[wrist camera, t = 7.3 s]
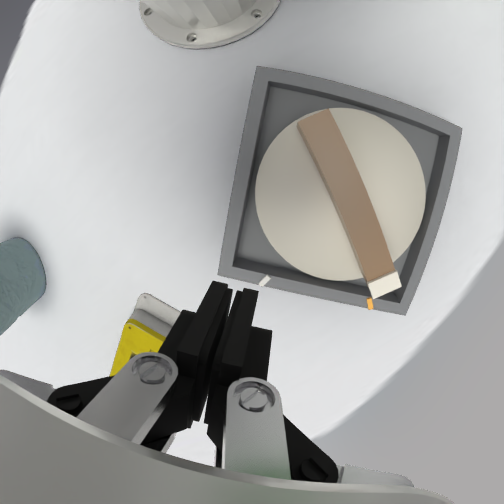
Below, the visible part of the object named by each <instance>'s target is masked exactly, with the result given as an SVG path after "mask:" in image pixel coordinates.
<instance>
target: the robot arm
mask: <svg viewBox="0 0 504 504" xmlns="http://www.w3.org/2000/svg"><path fill="white" fill-rule="evenodd" d="M279 3H280V0H140V14H141V18H142V20H143V22H144V24H145V25H146V27H147V28H148V29H149V30H150V31H151V32H152V33H153V34H154V35H155V36H157V37H158V38H160V39H161V40H163V41H165V42H167V43H169V44H171V45H175V46H178V47H182V48H193V49H201V48H212V47H216V46H221V45H225V44H228V43H231V42H234V41H237V40H239V39H241V38H243V37H245V36H247V35H249V34H251V33H252V32H254V31H255V30H256V29H258V28H259V27H260V26H262V25H263V24H264V23H265V22H266V21H267V20H268V19H269V18H270V17H271V16H272V15H273V13H274V11H275V10H276V8H277V7H278V5H279ZM258 15H259V16H260V17H259V18H255V16H258ZM194 38H196V40H195V41H193V42H192V40H193V39H194ZM232 292H233V289H229V288H228V284H225V283H221V282H216V281H212V283H211V285H210V287H209V289H208V291H207V293H206V295H205V297H204V299H203V300H202V302H201V304H200V306H199V308H198V310H197V312H196V313H195V312H191V311H187V310H182V312H181V313H180V315H179V316H178V318H177V320H176V321H175V323H174V325H173V327H172V328H171V330H170V332H169V333H168V335H167V337H166V339H165V340H164V342H163V344H162V345H161V347H160V349H159V351H158V352H144V353H140V354H138V355H135V356H134V357H133V358H131V359H130V360H129V361H128V362H127V363H126V364H125V365H124V367H123V368H122V369H121V370H120V371H119V372H118V373H117V374H116V375H114V376H109V377H105V378H101V379H96V380H92V381H87V382H82V383H77V384H72V385H67V386H63V387H60V388H58V389H54V388H53V385H51V384H47V383H44V382H41V381H37V380H34V379H31V378H28V377H25V376H22V375H19V374H16V373H13V372H10V371H7V370H0V504H454V503H453V502H452V501H451V500H449V499H448V498H447V497H445V496H443V495H440V494H438V493H435V492H431V491H428V490H424V489H419V488H415V487H414V485H413V484H412V482H411V481H410V480H409V479H408V478H406V477H405V476H402V475H398V474H392V473H386V472H380V471H375V470H370V469H365V468H361V467H356V466H351V465H348V464H345V465H344V466H339V465H336V464H335V463H334V461H333V460H332V459H331V458H330V457H329V456H328V455H326V454H325V453H324V452H323V451H322V450H321V449H320V448H319V447H317V446H316V445H315V444H314V443H313V442H312V441H311V440H310V439H309V438H308V437H306V436H305V435H304V434H303V433H302V432H301V431H300V430H299V429H298V428H297V427H296V426H295V425H294V424H293V423H291V422H290V421H289V420H288V419H287V418H286V417H285V416H284V415H283V410H282V403H281V397H280V394H279V392H278V390H277V389H276V388H275V387H274V386H273V385H272V384H270V383H269V382H267V374H268V365H269V357H270V348H271V339H272V330H267V329H262V328H258V327H253V326H251V325H252V321H253V316H254V311H255V307H256V302H257V297H258V292H259V291H256V290H251V289H247V288H244V289H243V292H242V291H238V290H237V292H236V295H235V298H234V301H233V304H232V307H231V310H230V313H229V308H230V303H231V297H232ZM228 314H229V316H228ZM207 396H208V398H207ZM206 399H207V405H206V412H205V418H204V423H206V424H208V430H207V435H208V436H209V438H210V439H211V440H212V441H213V443H214V444H215V445H216V447H215V456H214V467H213V466H208V465H204V464H200V463H196V462H193V461H189V460H185V459H182V458H178V457H175V456H172V455H169V454H166V452H167V450H168V449H169V447H170V445H171V444H172V442H173V440H174V439H175V436H176V432H179V431H182V430H185V429H187V428H191V425H192V422H193V420H194V421H198V422H199V420H200V418H201V414H202V411H203V408H204V405H205V402H206Z"/></svg>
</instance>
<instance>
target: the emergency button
mask: <svg viewBox="0 0 504 504" xmlns="http://www.w3.org/2000/svg"><path fill="white" fill-rule="evenodd" d="M180 313H181V312H180V311H178V310H177V309H175V308H173V307H171V306H169V305H168V304H166V303H164V302H162V301H161V300H159V299H157V298H155V297H154V296H152V295H150V294H147V293H144V294H141V295H140V297H139V298H138V300H137V303H136V306H135V309H134V312H133V314H132V315H131V317H130V318H129V319H128V321H127V322H126V324H125V325H124V328H123V331H122V335H121V338H120V341H119V345H118V348H117V351H116V355H115V358H114V362H113V365H112V369H111V373H110V376H114V375H116V374H117V373H118V372H119V371H120V370H121V369H122V368H123V367H124V365H125V364H126V363H127V362H128V361H129V360H130V359H131V358H133V357H134V356H135V355H138V354H140V353H144V352H158V351H159V349H160V347H161V345H162V344H163V342H164V340H165V339H166V337H167V335H168V333H169V332H170V330H171V328H172V327H173V325H174V323H175V321H176V320H177V318H178V316H179V315H180Z"/></svg>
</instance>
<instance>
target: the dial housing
mask: <svg viewBox="0 0 504 504" xmlns="http://www.w3.org/2000/svg"><path fill="white" fill-rule="evenodd" d="M328 108H352V109H357V110H361V111H365V112H368V113H370V114H373V115H375V116H377V117H379V118H381V119H383V120H385V121H386V122H388V123H389V124H390V125H392V126H393V127H394V128H395V129H397V130H398V131H399V132H400V133H401V134H402V135H403V136H404V138H405V139H406V140H407V141H408V143H409V144H410V145H411V147H412V149H413V150H414V152H415V154H416V156H417V158H418V160H419V162H420V165H421V168H422V172H423V175H424V181H425V190H426V200H425V209H424V214H423V218H422V221H421V224H420V227H419V229H418V231H417V233H416V235H415V237H414V239H413V241H412V242H411V244H410V245H409V247H408V248H407V249H406V250H405V251H404V253H403V254H402V255H401V256H400V257H399V258H398V259H396V260H395V261H394V262H393V265H394V268H395V269H396V271H397V273H398V276H399V279H400V283H401V286H402V287H400V288H398V289H395V290H393V291H391V292H389V293H386V294H384V295H382V296H380V297H377V298H375V299H373V298H372V295H371V292H370V290H369V288H368V286H367V284H366V282H365V279H364V278H359V279H355V280H346V281H336V280H327V279H322V278H318V277H315V276H312V275H309V274H307V273H304V272H302V271H301V270H299V269H297V268H295V267H294V266H292V265H291V264H290V263H288V262H287V261H286V260H285V259H284V258H283V257H282V256H281V255H280V254H279V253H278V252H277V251H276V250H275V249H274V247H273V246H272V245H271V244H270V242H269V240H268V239H267V237H266V235H265V234H264V231H263V229H262V227H261V224H260V221H259V218H258V214H257V209H256V202H255V186H256V178H257V174H258V170H259V166H260V164H261V161H262V159H263V156H264V154H265V153H266V151H267V149H268V147H269V146H270V144H271V143H272V142H273V140H274V139H275V138H276V137H277V135H278V134H279V133H281V132H282V131H283V130H284V129H285V128H286V127H287V126H288V125H290V124H291V123H293V122H294V121H295V120H297V119H299V118H301V117H303V116H305V115H307V114H310V113H312V112H315V111H319V110H323V109H328ZM461 134H462V128H461V127H459V126H456V125H454V124H452V123H450V122H448V121H446V120H443V119H441V118H439V117H437V116H434V115H432V114H430V113H427V112H425V111H422V110H420V109H417V108H415V107H412V106H410V105H407V104H404V103H402V102H399V101H396V100H393V99H391V98H388V97H385V96H382V95H379V94H376V93H373V92H370V91H366V90H363V89H360V88H356V87H353V86H349V85H346V84H342V83H338V82H335V81H331V80H327V79H323V78H318V77H314V76H310V75H305V74H300V73H296V72H291V71H285V70H280V69H274V68H268V67H262V66H257V67H256V72H255V77H254V81H253V86H252V91H251V96H250V100H249V105H248V110H247V115H246V120H245V125H244V130H243V135H242V140H241V145H240V151H239V156H238V161H237V166H236V172H235V177H234V182H233V188H232V193H231V199H230V204H229V210H228V216H227V221H226V227H225V233H224V239H223V245H222V251H221V257H220V263H219V269H218V275H219V276H223V277H227V278H232V279H236V280H240V281H244V282H249V283H253V284H257V285H260V286H261V287H263V286H266V287H270V288H275V289H279V290H284V291H288V292H293V293H297V294H302V295H307V296H311V297H316V298H321V299H325V300H330V301H335V302H340V303H344V304H349V305H354V306H359V307H364V308H368V309H369V310H370V309H374V310H379V311H384V312H389V313H395V314H400V315H406V313H407V311H408V309H409V306H410V304H411V302H412V299H413V297H414V295H415V292H416V290H417V287H418V285H419V282H420V280H421V277H422V275H423V272H424V269H425V267H426V264H427V261H428V258H429V256H430V253H431V250H432V247H433V244H434V241H435V238H436V235H437V232H438V229H439V225H440V222H441V219H442V216H443V212H444V209H445V205H446V201H447V198H448V194H449V190H450V186H451V182H452V178H453V174H454V169H455V165H456V160H457V155H458V150H459V145H460V140H461Z"/></svg>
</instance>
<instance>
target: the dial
mask: <svg viewBox="0 0 504 504" xmlns="http://www.w3.org/2000/svg"><path fill="white" fill-rule="evenodd" d="M425 200H426V190H425V181H424V175H423V172H422V168H421V165H420V162H419V160H418V158H417V156H416V154H415V152H414V150H413V149H412V147H411V145H410V144H409V143H408V141H407V140H406V139H405V138H404V136H403V135H402V134H401V133H400V132H399V131H398V130H397V129H395V128H394V127H393V126H392V125H390V124H389V123H388V122H386V121H385V120H383V119H381V118H379V117H377V116H375V115H373V114H370V113H368V112H365V111H361V110H357V109H352V108H328V109H323V110H319V111H315V112H312V113H310V114H307V115H305V116H303V117H301V118H299V119H297V120H295V121H294V122H293V123H291V124H290V125H288V126H287V127H286V128H285V129H284V130H283V131H282V132H281V133H279V134H278V135H277V137H276V138H275V139H274V140H273V142H272V143H271V144H270V146H269V147H268V149H267V151H266V153H265V154H264V156H263V159H262V161H261V164H260V166H259V170H258V174H257V178H256V186H255V202H256V209H257V214H258V218H259V221H260V224H261V227H262V229H263V231H264V234H265V235H266V237H267V239H268V240H269V242H270V244H271V245H272V246H273V247H274V249H275V250H276V251H277V252H278V253H279V254H280V255H281V256H282V257H283V258H284V259H285V260H286V261H287V262H288V263H290V264H291V265H292V266H294V267H295V268H297V269H299V270H301V271H302V272H304V273H307V274H309V275H312V276H315V277H318V278H322V279H327V280H336V281H346V280H355V279H359V278H364V279H365V282H366V284H367V286H368V288H369V290H370V292H371V295H372V298H373V299H375V298H377V297H380V296H382V295H384V294H386V293H389V292H391V291H393V290H395V289H398V288H400V287H402V286H401V283H400V279H399V276H398V273H397V271H396V269H395V268H394V265H393V262H394V261H395V260H396V259H398V258H399V257H400V256H401V255H402V254H403V253H404V251H405V250H406V249H407V248H408V247H409V245H410V244H411V242H412V241H413V239H414V237H415V235H416V233H417V231H418V229H419V227H420V224H421V221H422V218H423V214H424V209H425Z"/></svg>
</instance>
